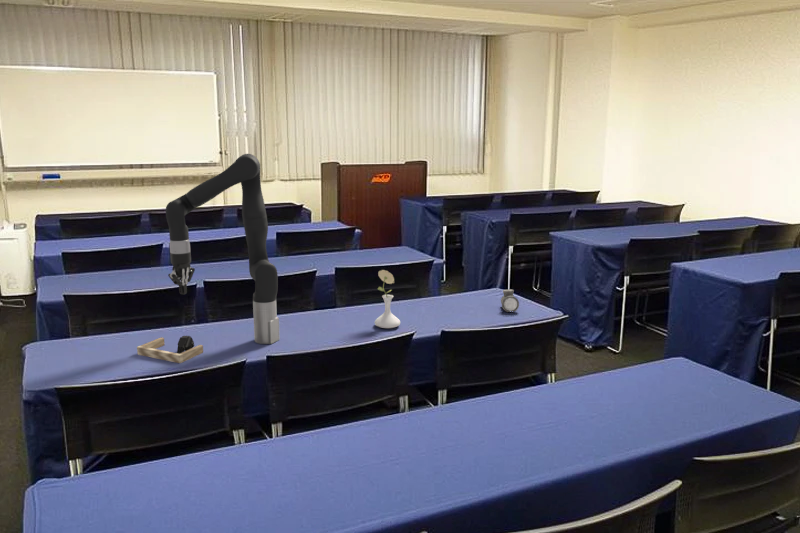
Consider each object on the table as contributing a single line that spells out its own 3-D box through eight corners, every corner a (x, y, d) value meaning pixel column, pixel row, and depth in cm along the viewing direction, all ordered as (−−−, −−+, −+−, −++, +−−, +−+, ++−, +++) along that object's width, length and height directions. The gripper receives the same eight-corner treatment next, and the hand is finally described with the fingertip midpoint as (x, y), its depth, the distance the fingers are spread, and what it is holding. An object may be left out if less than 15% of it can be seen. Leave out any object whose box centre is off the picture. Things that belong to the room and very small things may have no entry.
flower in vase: (405, 327, 281) (406, 272, 275) (383, 332, 274) (383, 275, 269) (389, 319, 291) (389, 266, 286) (367, 324, 285) (367, 269, 279)
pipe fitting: (519, 312, 303) (518, 291, 302) (502, 313, 304) (501, 292, 302) (515, 307, 315) (514, 287, 314) (499, 309, 316) (498, 288, 314)
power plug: (168, 358, 239) (178, 331, 247) (174, 370, 245) (183, 343, 253) (183, 359, 239) (192, 332, 247) (189, 370, 245) (197, 343, 253)
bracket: (203, 352, 248) (202, 345, 247) (180, 363, 237) (179, 355, 236) (161, 344, 256) (161, 337, 256) (137, 354, 245) (136, 347, 244)
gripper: (176, 255, 242) (179, 299, 246) (199, 248, 254) (202, 290, 258) (160, 253, 245) (163, 297, 249) (184, 247, 257) (187, 288, 261)
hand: (183, 293), depth 253 cm, fingers closed
